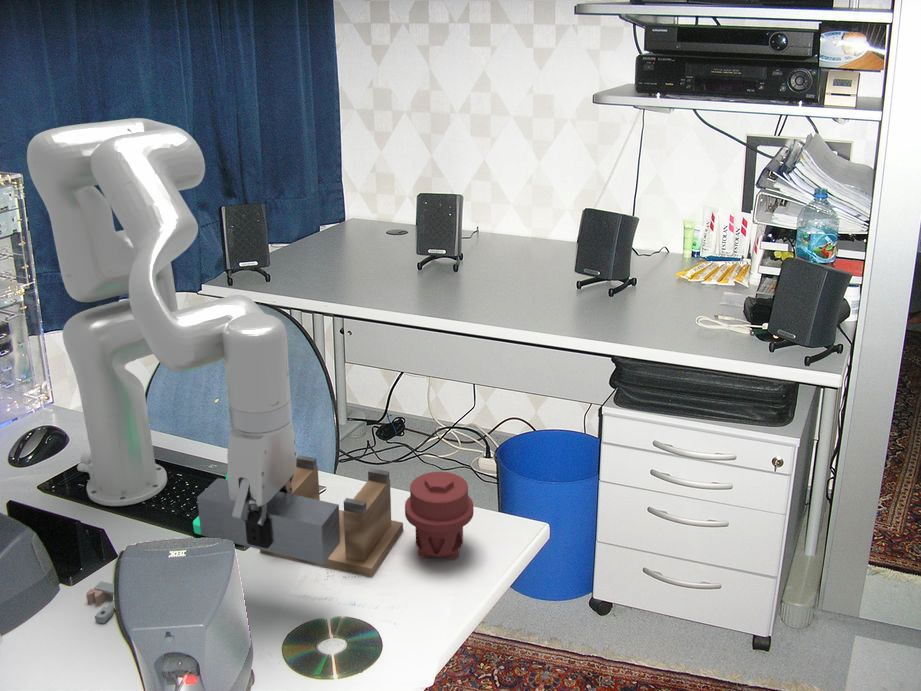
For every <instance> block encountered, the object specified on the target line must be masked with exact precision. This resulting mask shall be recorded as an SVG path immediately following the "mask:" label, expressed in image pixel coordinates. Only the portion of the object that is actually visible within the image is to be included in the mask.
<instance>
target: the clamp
mask: <svg viewBox="0 0 921 691" xmlns="http://www.w3.org/2000/svg"><path fill="white" fill-rule="evenodd" d="M114 584H115V583H110V582H107V581H106V582H105V581H99V582H98V583H97V584H96V585H95V586H94V587H93V588H90V589H89V590H88V591H86V593H85V595H86V601H87V605H92V604H95V605H96V607H97V608H98V607H101V605H102V604H103V603H105V601H107V602H110V603H109V604H108V605H107V606H103V607H102V608H100V610H99V611H98V612H97V613H95V615H94V620H95V622H96V623H99V624H105V623H106V622H108V620H110V618H111V617H112V616H113V615H114V611H115V610H116V608H114V600H113V595H114Z"/></svg>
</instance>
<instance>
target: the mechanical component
mask: <svg viewBox="0 0 921 691" xmlns="http://www.w3.org/2000/svg"><path fill="white" fill-rule="evenodd" d="M409 493H410V494H409V495H410V496H409V497H407V499H406V501H405V504H404V512H405V513H404V514H405V515H404V516H405V518H406V520H407V522H408V523H410V524H411V525H412V526H413V527H415V545H416V547H417V554H418V556H419V557H420V558H431V557H432V558H434V557H436V558H437V557H439V558H446V559H449V560H457V559H458V558H459V556H460V549H461V548H462V547H463V543H464V527H465V526H466V525H468V524H469V523H470V522H471V521H472V519H473V517H474V508H475V507H474V502H473V500H472V498H471V497H470V496H469V485H468V482H467V481H466V480H465V478H463V477H462V476H460V475H458V474H456V473H452V472H447V471H431V472H427V473H424V474H421V475H418V476H417V477H416V478H414V479H413V480H412V481H411V483H410V488H409Z"/></svg>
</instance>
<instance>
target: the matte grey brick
mask: <svg viewBox="0 0 921 691" xmlns="http://www.w3.org/2000/svg"><path fill="white" fill-rule="evenodd" d="M251 497H252V495H251ZM196 500H197V509H198V510H197V511H198V516H199V520H200V529H201V535H200V536H202V537H203V536H204V537H206V538H211V539H215V538H221V539H228V540H232V541H233V543H232V544H236V545H240V546H243V547H248V548H252V549H257V550H259V551H260V550H264V551H268V552H273V553H277V554H281V555H285V556H289V557H293V558H297V559H301V560H306V561H310V562H314V563H318V564H322V565H324V563H325V562H326V561H327V559H328V558H329V557H330V555H331V554H332V553H333V551H334V550H335V549H336V547H337V546H338V545H339V543H340V523H339V510H340V504H337V503H335V502H334V503H333V502H330V501H329V502H328V501H324V500H321V499H320V500H316V499H311V498H307V497H302V496H298V495H293V494H288V493H284V492H279V491H278V492H277V493H276V494H275V495H274V497H273V498H272V499H271V500H270V501H269V502H267V511H266V521H269V527H270V540H271V546H270V547H269V548H267V549H266V548H262V547H258V546H254V545H250V544H248V543H247V536H246V525H245V521H243V520H242V519H238V518H233V516H232V514H233V510H234V506H235V502H236V501H231V500H230V497H229V490H228V480H226V478H225V479H224V478H219V477H217V478H216V479H215V480H214V481H213V482H212V483H211V484H210V485H209V486H208V487H207V488H206V489H204V490H203V491H202V492H201V493H200V494H199V495H198V496H197V497H196ZM258 509H259V507H258V506H256V505H252V504H251V511H252V512H255V513H257V514H258Z"/></svg>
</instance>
